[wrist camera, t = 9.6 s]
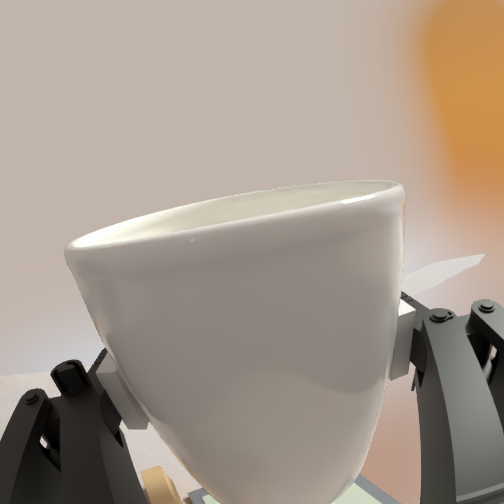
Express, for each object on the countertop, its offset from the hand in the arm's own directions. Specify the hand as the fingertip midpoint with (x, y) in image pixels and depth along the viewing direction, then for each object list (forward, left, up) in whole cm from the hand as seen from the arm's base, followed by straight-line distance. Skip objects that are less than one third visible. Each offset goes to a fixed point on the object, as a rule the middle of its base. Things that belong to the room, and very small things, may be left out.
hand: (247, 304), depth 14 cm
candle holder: (+4, -2, -7) cm, 8 cm away
